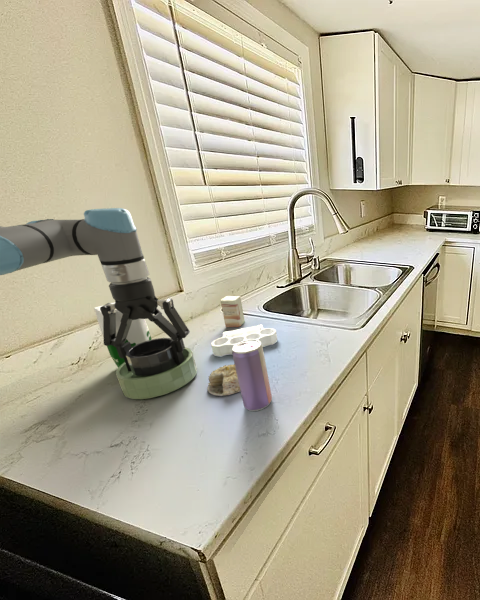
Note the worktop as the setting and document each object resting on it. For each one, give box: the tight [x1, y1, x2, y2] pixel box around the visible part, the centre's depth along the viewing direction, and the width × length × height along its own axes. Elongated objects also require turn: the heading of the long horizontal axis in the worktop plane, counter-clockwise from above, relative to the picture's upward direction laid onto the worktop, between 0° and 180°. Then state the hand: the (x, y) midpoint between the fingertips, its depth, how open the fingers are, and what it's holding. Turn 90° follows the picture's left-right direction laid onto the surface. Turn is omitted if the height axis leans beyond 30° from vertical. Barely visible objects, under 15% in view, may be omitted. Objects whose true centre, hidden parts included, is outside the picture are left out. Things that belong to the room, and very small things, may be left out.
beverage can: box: [232, 340, 273, 412], centre depth 71 cm, size 6×6×15 cm
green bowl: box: [115, 346, 198, 400], centre depth 81 cm, size 15×15×6 cm
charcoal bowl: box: [126, 337, 177, 376], centre depth 80 cm, size 10×10×6 cm
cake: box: [206, 363, 241, 397], centre depth 80 cm, size 10×10×5 cm
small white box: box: [220, 295, 246, 328], centre depth 112 cm, size 5×4×10 cm
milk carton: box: [93, 301, 153, 368], centre depth 86 cm, size 9×9×20 cm
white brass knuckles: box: [210, 324, 278, 358], centre depth 100 cm, size 3×18×15 cm
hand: (157, 365), depth 81 cm, fingers closed on charcoal bowl, 10 cm apart
